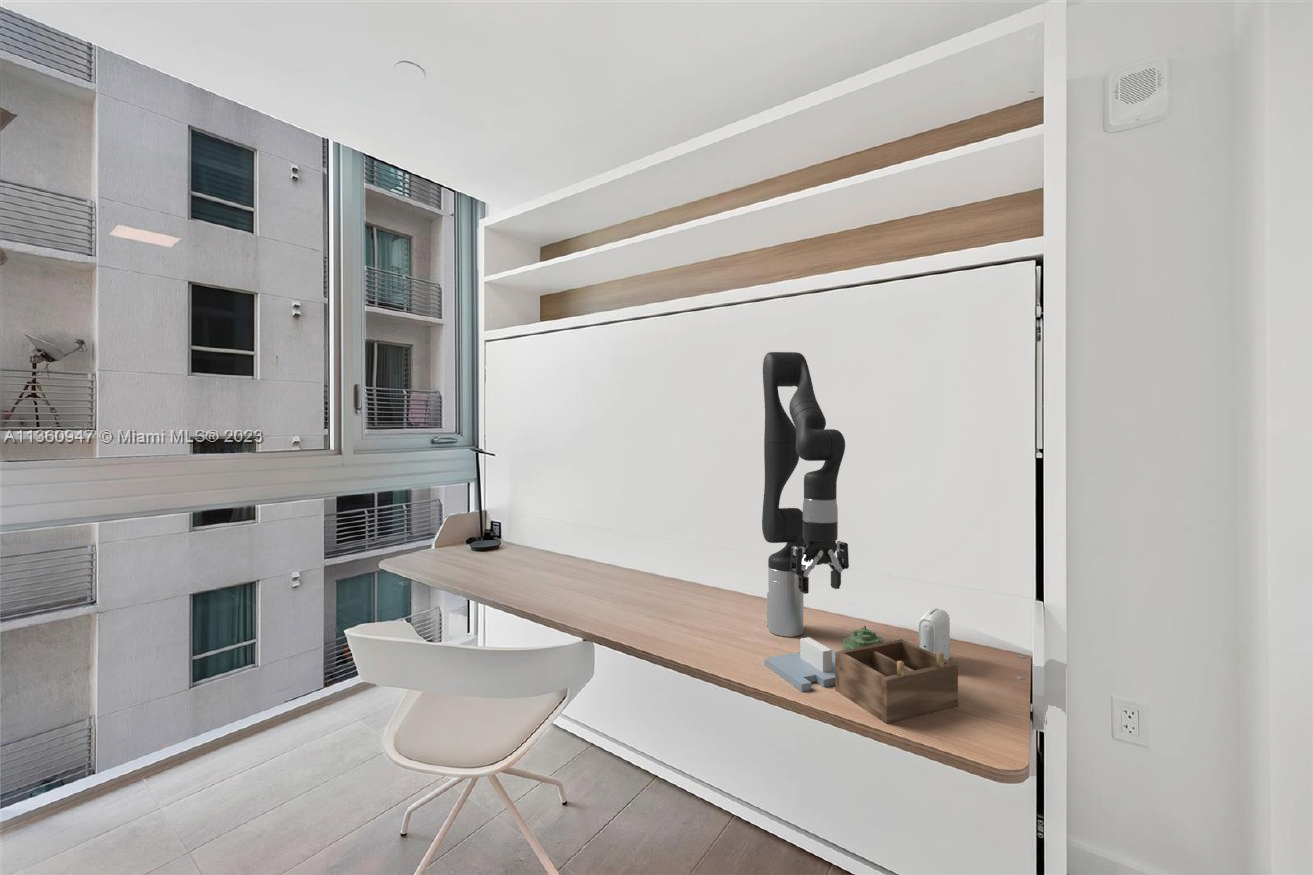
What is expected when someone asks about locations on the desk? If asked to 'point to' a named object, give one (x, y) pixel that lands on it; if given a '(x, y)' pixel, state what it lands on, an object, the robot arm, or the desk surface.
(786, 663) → the notched blue lid
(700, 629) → the desk surface
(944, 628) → the photo printer
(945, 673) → the wooden box with compartments
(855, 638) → the decorative artifact
